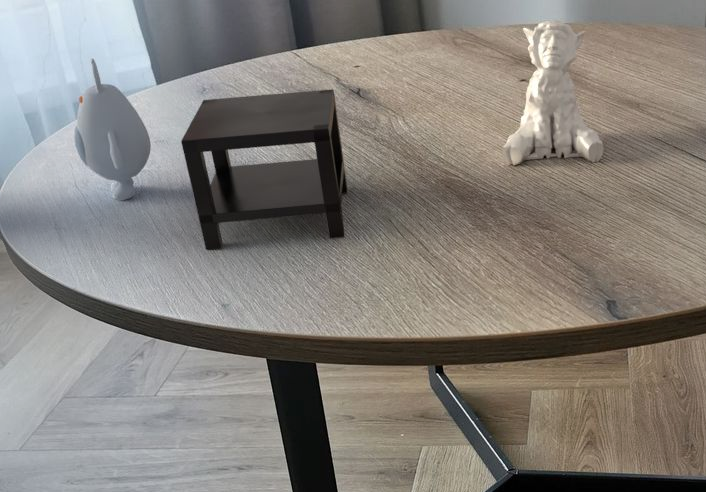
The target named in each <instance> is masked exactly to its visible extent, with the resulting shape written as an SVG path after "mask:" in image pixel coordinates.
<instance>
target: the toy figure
mask: <svg viewBox="0 0 706 492" xmlns="http://www.w3.org/2000/svg"><path fill="white" fill-rule="evenodd" d="M90 66H91V71H92V77H93V81H94V84H95V85H91V86H89V87H87V88H86V89H85V90H84V91H83V92H82V94H81V95H80V97H79V98H78V101H79V106H78V110H77V115H76V125H75V128H74V136H73V137H74V144H75V148H76V151H77V153H78V156H79V158H80V159H81V161H82V163H83V164H84V165H85V166H86V167H88V168H89V169H90V171H92V172H93V173H95V174H96V175H98V176H99V177H101V178H103V179H106V180H108V181H113V182H112V183H111V185H110V188H111V190H112V192H111V193H112V194H111V195H112V198H114V199H115V200H117V201H126V200H129V199H131V198H132V197H133V196H134V195H135V193H136V186H135V185H134V183H135V182H134V181H135V180H134V179H133V178H134V177H137V176H138V175H139V174H140V172H142V170H143V169H144V168H145V167H146V165H147V163H148V160H149V158H150V154H151V149H152V148H151V146H152V145H151V138H150V135H149V132H148V130H147V127H146V125H145V123H144V121H143V120H142V118H141V117H140V115H139V113H138V111H137V110H136V109H135V107H134V106H133V104H132V103H131V102H130V101H129V99H128V98H127V97H126V96H125V94H124V93H123V92H122V91H121V90H120V89H119V88H118V87H117V86H115V85H113V84H107V83H101V82H102V81H101V76H100V72H99V69H98V66H97V63H96V61H95V59H94V58H90Z"/></svg>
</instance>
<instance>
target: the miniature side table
mask: <svg viewBox="0 0 706 492" xmlns="http://www.w3.org/2000/svg"><path fill="white" fill-rule="evenodd" d="M335 96H336V95H335V90H334V89H320V90H310V91H309V90H307V91H295V92H283V93H272V94H261V95H247V96H235V97H234V96H233V97H224V98H212V99H203V100H202V101H201V103H200V106H199V107H198V109H197V111H196V112H195V114H194V116H193V118H192V120H191V122H190V123H189V126H188V128H187V130H186V131H185V132H184V135H183V137H182V138H181V141H180V143H181V146H182V152H183V155H184V161H185V164H186V169H187V172H188V173H187V174H188V177H189V181H190V185H191V190H192V195H193V199H194V203H195V208H196V213H197V217H198V222H199V225H200V230H201V235H202V239H203V243H204V247H205V250H206V251H209V250H220V249H222V246H223V236H222V233H221V228H220V224H222V223H234V222H244V221H255V220H264V219H265V220H266V219H267V220H268V219H277V218H289V217H299V216H310V215H322V214H325V219H326V224H327V226H326V227H327V232H328V238H329V239H330V240H331V239H339V238H340V239H341V238H345V235H346V234H345V233H346V231H345V223H344V217H343V210H342V200H343V199H342V198H343V194H347V193H348V182H347V176H346V168H345V167H346V166H345V162H344V155H343V147H342V139H341V133H340V132H341V131H340V126H339V117H338V111H337V103H336V97H335ZM311 143H314V147H315V148H314V149H315V154H316V158H312V159H301V160H290V161H278V162H277V161H276V162H268V163H267V162H265V163H255V164H243V165H232V164H231V159H230V154H229V150H240V149H241V150H242V149H253V148H264V147H265V148H266V147H276V146H289V145H297V144H298V145H300V144H311ZM205 152H211V158H212V161H213V166H214V170H215V173H214V175H213V178H212V180H211V182H210V178H209V173H208V167H207V163H206V159H205V154H204V153H205Z"/></svg>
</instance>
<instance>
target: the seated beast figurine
mask: <svg viewBox="0 0 706 492" xmlns="http://www.w3.org/2000/svg"><path fill="white" fill-rule="evenodd" d="M522 31H523V33H524V35H525V37H526V39H527V41H528V43H529V45H528V47H527V51H528V52H529V58H530V60H531V64H532V65H534V66H535V68H537V69H536V70H534V72H533V74H532V76H531V78H530V79H529V82H528V83H529V84H528V86H527V88H526V91H525V98H526V99H525V100H526V101H525V105H524V106H525V107H524V109H523V115H522V116H521V117H520V122H519V124H520V126H519V128H518V129H517V130H516V131H515V132H514V133H512V134H510V135H509V136H508V137H507V141H506V142H505V144H504V145H503V147H502V149H501V153H500V154H501V158H502V160H503V161H504V162H505V164H507V165H512V166H514V167H515V166H517V165H521V164H522V163H523V162H524V161H529V160H542V159H544V157H546V159H547V160H548V159H550V158H551V157H557V158H558V159H561V158H562V155H563V157H564V159H568V158H584V159H586V160H587V161H588V162H591V163H598V162H600V160H602V159H601V158H602V157H603V155H604V151H605V150H604V144H603V141H602V140H601V139H600V136H599V134H598V133H597V132H596V131H595V130H594V129H592V128H591V127H588V125H586V123H585V120H584V119H583V118H582V116H581V110H580V108H579V105H578V103H577V99H578V98H577V92H576V89H575V86H576V85H575V84H574V81H573V78H571V77H570V73H569V72H568V71H569V68H570V66H571V65H572V63H573V62H575V61H576V60H577V59H578V53H577V52H578V50H579V49H580V47H581V45H582V42H583V38H584V36H585V34H586V33H587V30H582V31H580V32H578V33H576V32H574V31H573V28H572V26H571V25H570V24H568V23H564V22H562V21H561V20H558V19H552V20H548V19H547V20H546V21H545V20H544V21H543V22H539V23H538V24H537V26H535V27H534V29H531V28H529V27H523V28H522ZM552 150H555V153H552Z"/></svg>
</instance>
